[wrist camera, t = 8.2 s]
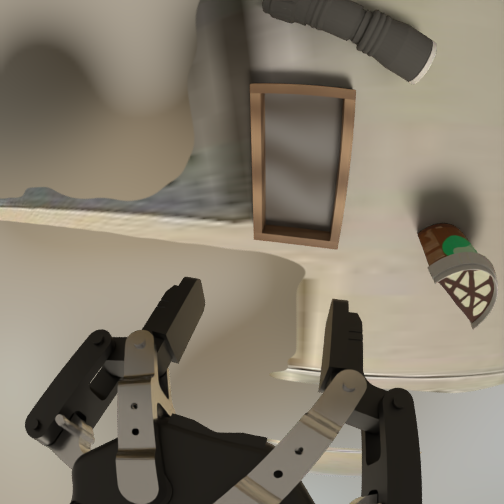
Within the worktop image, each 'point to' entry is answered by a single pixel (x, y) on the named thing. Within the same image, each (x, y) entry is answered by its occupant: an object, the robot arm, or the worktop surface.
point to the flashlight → (363, 32)
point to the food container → (460, 270)
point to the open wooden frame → (300, 161)
